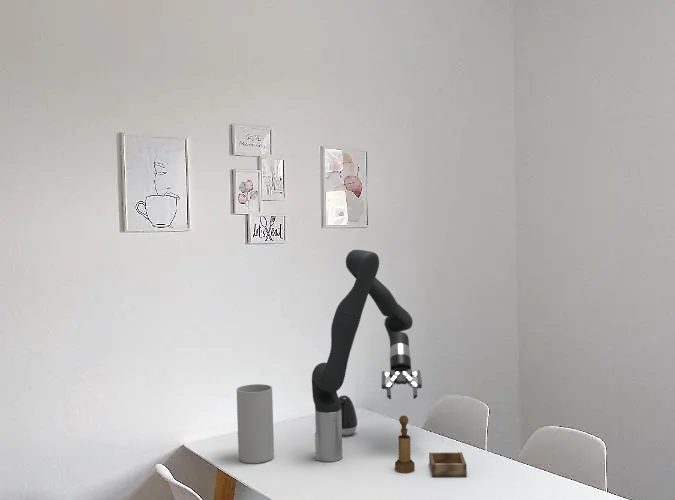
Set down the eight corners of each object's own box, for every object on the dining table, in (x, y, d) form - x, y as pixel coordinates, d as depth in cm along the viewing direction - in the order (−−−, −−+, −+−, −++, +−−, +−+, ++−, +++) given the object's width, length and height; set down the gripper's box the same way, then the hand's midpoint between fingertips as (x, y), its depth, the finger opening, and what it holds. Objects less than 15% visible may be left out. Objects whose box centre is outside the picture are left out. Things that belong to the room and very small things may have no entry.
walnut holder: (432, 477, 221) (431, 464, 221) (429, 464, 233) (429, 452, 233) (466, 476, 221) (466, 464, 220) (462, 464, 233) (461, 452, 232)
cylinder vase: (231, 459, 243) (229, 389, 243) (258, 450, 253) (256, 382, 252) (254, 466, 235) (252, 394, 234) (281, 457, 244) (279, 387, 243)
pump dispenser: (328, 437, 266) (327, 398, 266) (336, 429, 276) (335, 391, 276) (353, 438, 263) (352, 399, 263) (360, 430, 273) (359, 393, 273)
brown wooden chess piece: (413, 473, 225) (412, 419, 224) (393, 472, 226) (392, 418, 225) (415, 466, 231) (414, 413, 231) (396, 465, 233) (395, 413, 232)
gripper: (380, 353, 248) (381, 392, 237) (420, 352, 248) (423, 391, 237) (380, 365, 254) (382, 404, 243) (419, 364, 253) (422, 403, 242)
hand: (402, 398), depth 240 cm, fingers open, 8 cm apart
